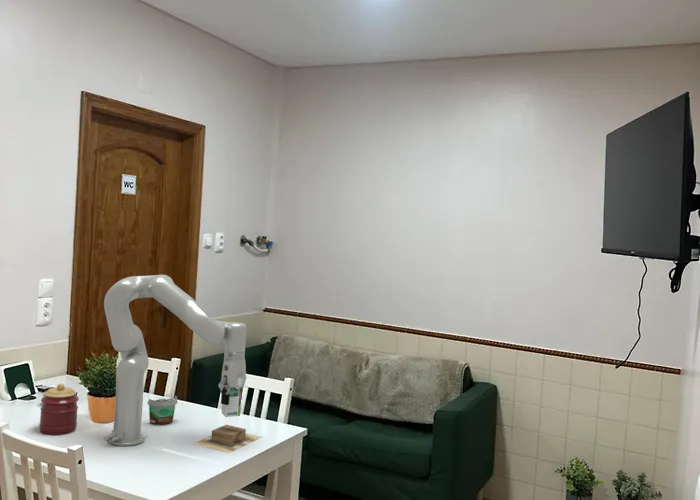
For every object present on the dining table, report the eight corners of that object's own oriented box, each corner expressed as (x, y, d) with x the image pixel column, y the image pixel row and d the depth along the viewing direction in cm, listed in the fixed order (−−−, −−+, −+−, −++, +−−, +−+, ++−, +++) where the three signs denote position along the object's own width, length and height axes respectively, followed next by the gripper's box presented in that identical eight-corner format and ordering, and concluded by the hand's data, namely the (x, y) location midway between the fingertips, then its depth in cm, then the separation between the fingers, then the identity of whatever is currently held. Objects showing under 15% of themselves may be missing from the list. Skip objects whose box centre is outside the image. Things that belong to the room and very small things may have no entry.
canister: (31, 429, 240) (34, 383, 240) (62, 422, 251) (65, 377, 251) (52, 438, 234) (55, 389, 233) (83, 430, 245) (87, 384, 244)
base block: (231, 446, 236) (232, 435, 236) (211, 441, 240) (212, 430, 240) (245, 439, 244) (245, 429, 244) (225, 434, 248) (226, 424, 248)
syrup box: (225, 417, 238) (228, 378, 237) (220, 412, 243) (223, 374, 243) (240, 416, 241) (242, 378, 240) (235, 411, 246) (238, 374, 245)
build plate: (228, 456, 229) (229, 452, 229) (192, 447, 235) (192, 442, 235) (261, 440, 249) (262, 436, 249) (227, 431, 255) (227, 428, 255)
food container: (152, 427, 253) (154, 402, 253) (146, 423, 258) (147, 398, 258) (181, 423, 261) (183, 399, 261) (174, 419, 266) (176, 395, 266)
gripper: (229, 360, 232) (226, 408, 232) (255, 353, 248) (252, 398, 248) (212, 357, 235) (209, 405, 235) (239, 350, 251) (236, 395, 251)
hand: (231, 401), depth 242 cm, fingers closed on syrup box, 7 cm apart
